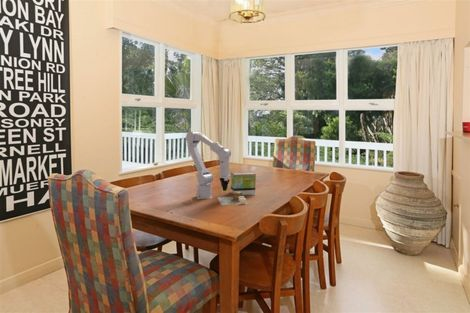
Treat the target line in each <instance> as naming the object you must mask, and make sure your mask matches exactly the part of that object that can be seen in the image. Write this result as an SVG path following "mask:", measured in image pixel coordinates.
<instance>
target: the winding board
mask: <svg viewBox="0 0 470 313" xmlns="http://www.w3.org/2000/svg"><path fill="white" fill-rule="evenodd" d="M230 194H232V196H221V197H219V196H218V197H217V200H218V201H219V203H220V205H221V206H226V205H227V206H228V205H229V206H230V205H249V203H248V202H247V198H245V195H239V194H241V192H240V191H232V192H230Z"/></svg>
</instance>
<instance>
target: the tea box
mask: <svg viewBox="0 0 470 313" xmlns="http://www.w3.org/2000/svg"><path fill="white" fill-rule="evenodd" d="M230 175H231V177H230V190H229V191H230V192H229V193H231V192H232V191H240V192H241V194H239V196H248V195H249V196H255V195H256V178H257V175H256V173H254V172H253V171H238V172H237V171H233V172H230Z"/></svg>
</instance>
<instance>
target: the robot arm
mask: <svg viewBox="0 0 470 313" xmlns="http://www.w3.org/2000/svg"><path fill="white" fill-rule="evenodd" d="M185 140H186V146H187V149H188V152H189V154H190V156H191V158H192V161H193V163H194V165H195V168H196V170H197V173H196V177H197V183H198V184H196V193H195V195H196V199H197V200H200V199H203V200H204V199H213V196H212V182H213V181H214V176H213V174H212V173H211V171H210V169H207V168H206V166H205V163H204V161H203V159H202V157H201V156H202V155H201V153H200V151H199V149H198V144H199V143H200V142H202V143H204V144H205V145H206V146H208V147H210V148H209V149H210V150H211V151H212V152H214V153H215V154H217V156H218V158H219V180H220V185H221V186H220V187H221V189H222V188H223V191H226V190H227V186H229V183H230V182H231V179H229V178H231V174H230V157H231V155H232V152H231V150H230V148H227V147H225V146H222V145H221V144H220V142H218V141H215V142H214V141H212V140H211V139H210V138H209V137H207V136H206V134H204V133H203V132H201V131H200V130H196V131H188V132H186V135H185ZM227 191H228V190H227Z"/></svg>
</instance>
